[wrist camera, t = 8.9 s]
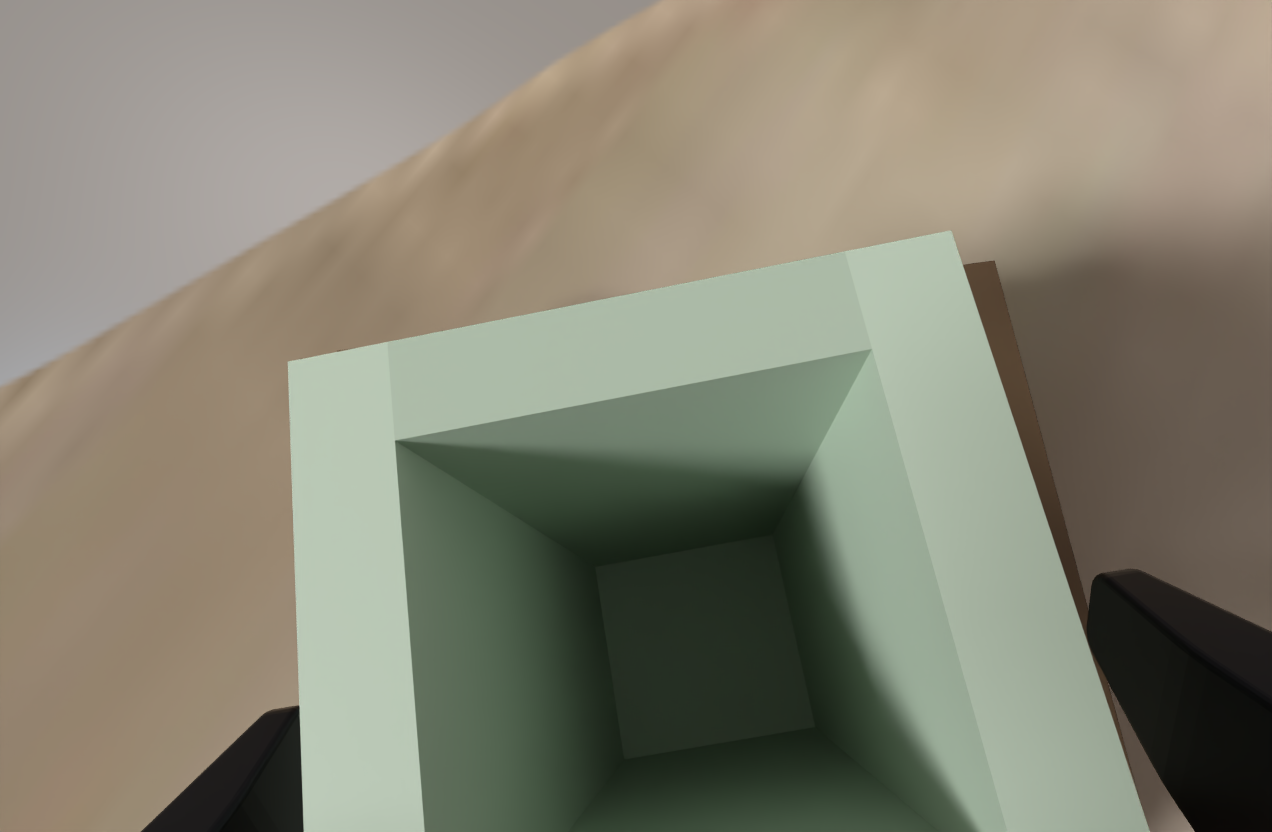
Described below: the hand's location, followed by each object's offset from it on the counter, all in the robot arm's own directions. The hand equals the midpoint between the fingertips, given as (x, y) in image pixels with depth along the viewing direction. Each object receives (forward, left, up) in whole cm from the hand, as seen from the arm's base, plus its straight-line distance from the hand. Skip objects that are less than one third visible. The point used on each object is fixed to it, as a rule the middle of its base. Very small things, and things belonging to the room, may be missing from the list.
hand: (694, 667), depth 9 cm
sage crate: (0, 0, -9) cm, 9 cm away
